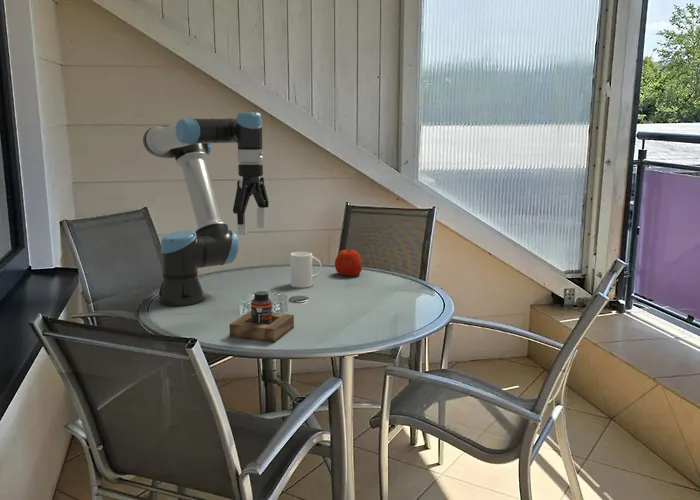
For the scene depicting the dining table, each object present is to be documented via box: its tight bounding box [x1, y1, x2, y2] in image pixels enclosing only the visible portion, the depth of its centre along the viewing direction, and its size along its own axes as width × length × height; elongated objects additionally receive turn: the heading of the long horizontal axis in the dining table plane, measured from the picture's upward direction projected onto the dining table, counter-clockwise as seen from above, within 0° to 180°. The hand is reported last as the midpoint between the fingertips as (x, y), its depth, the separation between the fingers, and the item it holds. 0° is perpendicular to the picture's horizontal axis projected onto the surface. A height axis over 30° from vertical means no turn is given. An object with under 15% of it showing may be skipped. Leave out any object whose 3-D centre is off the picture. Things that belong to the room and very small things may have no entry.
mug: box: [289, 251, 323, 289], centre depth 243 cm, size 12×8×12 cm
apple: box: [334, 248, 363, 277], centre depth 259 cm, size 11×11×11 cm
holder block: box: [229, 310, 295, 344], centre depth 190 cm, size 14×14×4 cm
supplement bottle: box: [250, 290, 273, 325], centre depth 189 cm, size 6×6×11 cm
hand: (252, 231), depth 204 cm, fingers open, 13 cm apart
